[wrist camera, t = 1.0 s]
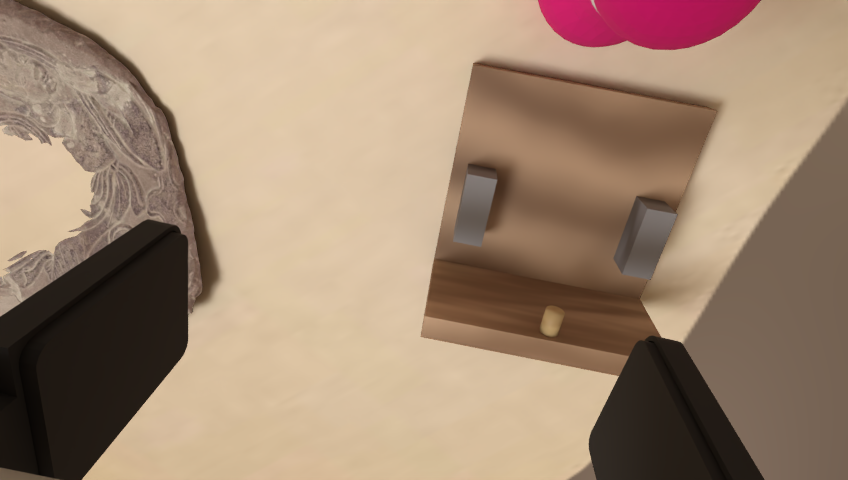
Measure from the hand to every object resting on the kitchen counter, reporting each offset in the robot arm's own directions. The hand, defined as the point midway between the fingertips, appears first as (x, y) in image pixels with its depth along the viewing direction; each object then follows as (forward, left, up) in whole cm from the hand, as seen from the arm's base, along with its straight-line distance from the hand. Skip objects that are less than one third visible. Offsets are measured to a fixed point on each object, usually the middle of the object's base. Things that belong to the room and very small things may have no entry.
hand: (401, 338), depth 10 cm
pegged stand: (+5, +9, -28) cm, 29 cm away
